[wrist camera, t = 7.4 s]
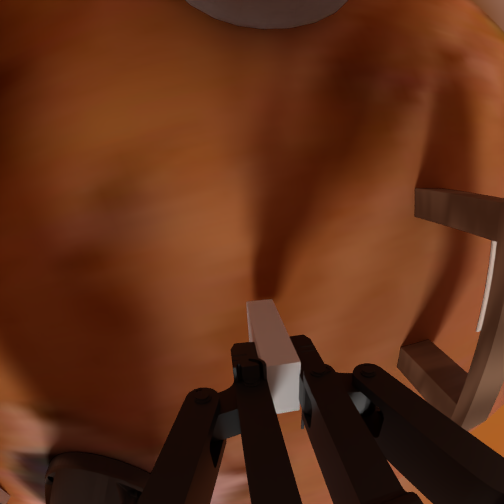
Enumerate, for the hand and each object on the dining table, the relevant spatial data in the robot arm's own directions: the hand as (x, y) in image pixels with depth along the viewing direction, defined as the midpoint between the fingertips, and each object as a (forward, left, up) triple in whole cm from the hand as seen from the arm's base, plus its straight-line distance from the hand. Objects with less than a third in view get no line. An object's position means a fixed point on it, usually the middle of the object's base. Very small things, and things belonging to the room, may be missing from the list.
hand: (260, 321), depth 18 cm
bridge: (0, -13, -2) cm, 13 cm away
